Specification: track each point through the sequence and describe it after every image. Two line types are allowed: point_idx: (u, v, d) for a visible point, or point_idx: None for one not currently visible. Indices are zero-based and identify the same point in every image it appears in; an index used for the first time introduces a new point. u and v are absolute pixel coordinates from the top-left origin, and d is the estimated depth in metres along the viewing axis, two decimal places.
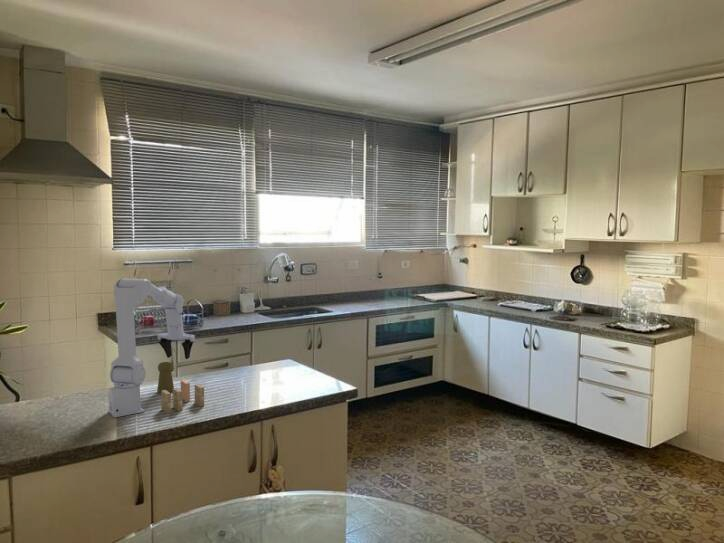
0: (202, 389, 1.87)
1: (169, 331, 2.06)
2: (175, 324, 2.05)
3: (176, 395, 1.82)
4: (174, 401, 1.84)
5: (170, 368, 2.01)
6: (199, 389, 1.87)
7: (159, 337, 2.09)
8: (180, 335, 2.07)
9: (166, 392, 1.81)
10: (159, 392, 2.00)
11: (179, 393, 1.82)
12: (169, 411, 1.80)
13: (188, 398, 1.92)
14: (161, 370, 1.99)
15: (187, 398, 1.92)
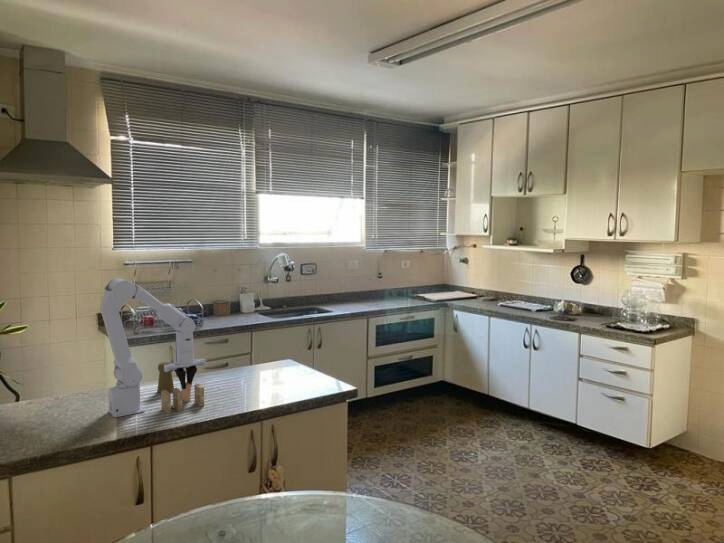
0: (202, 389, 1.86)
1: (185, 357, 1.90)
2: (180, 349, 1.90)
3: (176, 395, 1.82)
4: (174, 401, 1.84)
5: None
6: (199, 389, 1.87)
7: (168, 368, 1.88)
8: (193, 360, 1.94)
9: (166, 392, 1.81)
10: (159, 392, 2.00)
11: (179, 393, 1.82)
12: (169, 411, 1.80)
13: (189, 400, 1.92)
14: (161, 370, 1.99)
15: (188, 399, 1.92)
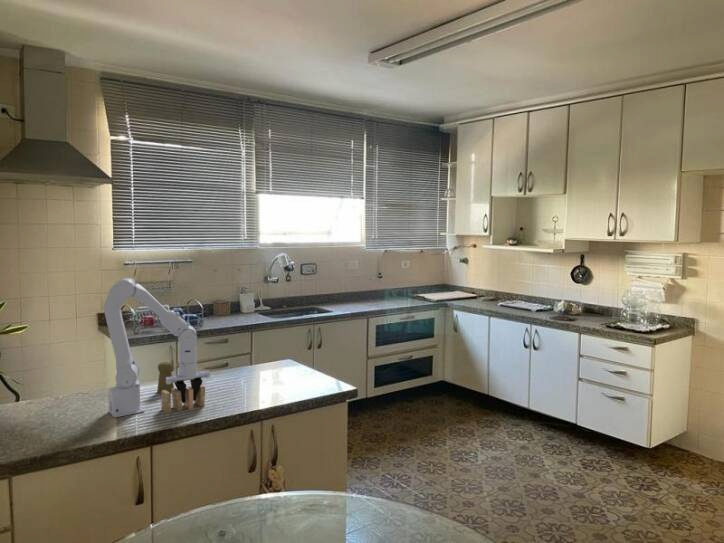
0: (203, 389, 1.87)
1: (188, 369, 1.83)
2: (180, 361, 1.83)
3: (175, 395, 1.82)
4: (174, 401, 1.84)
5: (170, 368, 2.01)
6: (200, 389, 1.87)
7: (170, 381, 1.81)
8: (196, 373, 1.86)
9: (166, 392, 1.81)
10: (159, 392, 2.00)
11: (178, 393, 1.81)
12: (169, 411, 1.80)
13: (192, 406, 1.85)
14: (161, 370, 1.99)
15: (191, 405, 1.85)
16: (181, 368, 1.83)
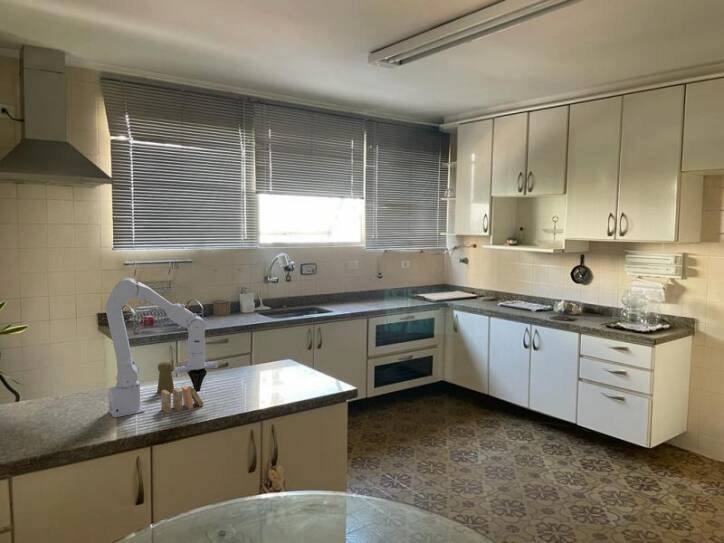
0: (194, 391, 1.85)
1: (197, 359, 1.84)
2: (189, 351, 1.84)
3: (176, 395, 1.82)
4: (174, 401, 1.84)
5: (170, 368, 2.01)
6: (191, 392, 1.85)
7: (179, 371, 1.82)
8: (205, 363, 1.88)
9: (166, 392, 1.81)
10: (159, 392, 2.00)
11: (179, 393, 1.82)
12: (169, 411, 1.80)
13: (191, 405, 1.85)
14: (161, 370, 1.99)
15: (190, 405, 1.84)
16: (190, 358, 1.85)
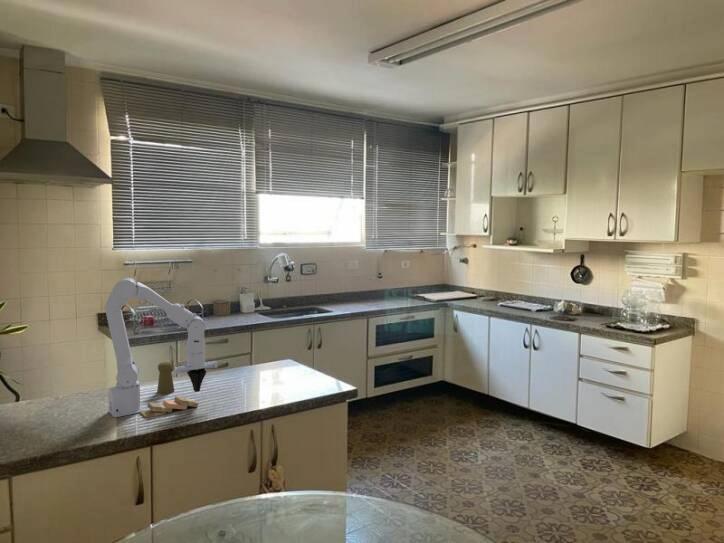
0: (182, 402, 1.82)
1: (196, 359, 1.84)
2: (189, 351, 1.84)
3: None
4: None
5: (170, 368, 2.01)
6: (180, 403, 1.83)
7: (178, 371, 1.82)
8: (204, 363, 1.88)
9: None
10: (159, 392, 2.00)
11: (153, 409, 1.77)
12: (164, 413, 1.79)
13: (184, 406, 1.83)
14: (161, 370, 1.99)
15: (183, 407, 1.83)
16: (189, 358, 1.84)
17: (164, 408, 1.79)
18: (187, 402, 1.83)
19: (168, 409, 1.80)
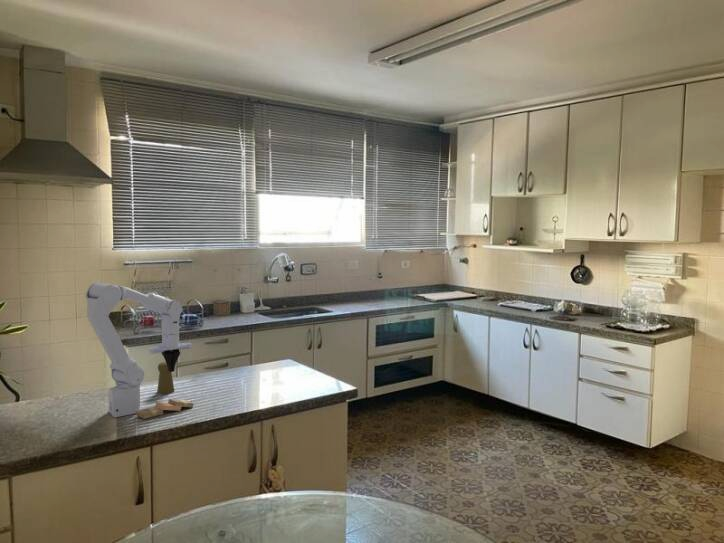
0: (177, 403, 1.81)
1: (170, 340, 1.90)
2: (167, 332, 1.90)
3: None
4: None
5: None
6: (176, 405, 1.82)
7: (152, 351, 1.88)
8: (179, 344, 1.94)
9: None
10: (159, 392, 2.00)
11: (145, 416, 1.73)
12: (162, 414, 1.78)
13: (179, 407, 1.82)
14: (161, 370, 1.99)
15: (178, 408, 1.82)
16: (164, 339, 1.91)
17: (155, 412, 1.76)
18: (182, 403, 1.83)
19: (159, 411, 1.77)
